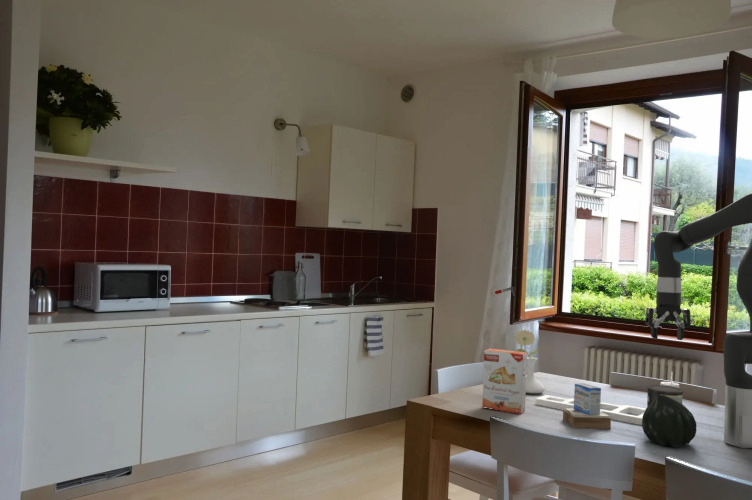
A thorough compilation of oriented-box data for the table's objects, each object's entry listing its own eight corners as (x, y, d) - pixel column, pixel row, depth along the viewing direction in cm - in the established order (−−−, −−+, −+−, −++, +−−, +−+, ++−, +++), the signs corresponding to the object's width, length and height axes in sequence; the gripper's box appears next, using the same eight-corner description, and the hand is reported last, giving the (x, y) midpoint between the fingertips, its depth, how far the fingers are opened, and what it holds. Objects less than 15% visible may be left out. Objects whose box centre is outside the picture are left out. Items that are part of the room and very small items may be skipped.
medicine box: (573, 409, 208) (573, 383, 208) (583, 408, 209) (584, 382, 210) (589, 415, 200) (590, 388, 201) (600, 414, 202) (601, 387, 202)
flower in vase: (548, 392, 254) (550, 330, 254) (539, 397, 244) (541, 332, 244) (517, 387, 261) (519, 327, 261) (507, 392, 251) (509, 329, 251)
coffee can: (641, 432, 197) (643, 387, 197) (651, 426, 205) (652, 383, 205) (677, 439, 190) (678, 393, 190) (685, 433, 198) (686, 388, 198)
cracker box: (481, 408, 221) (483, 349, 221) (486, 405, 227) (488, 347, 227) (521, 414, 215) (522, 353, 215) (525, 411, 220) (527, 351, 220)
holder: (535, 405, 231) (535, 398, 231) (556, 398, 245) (556, 391, 245) (664, 430, 202) (664, 422, 202) (679, 421, 216) (679, 413, 216)
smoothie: (680, 412, 226) (682, 373, 226) (661, 411, 227) (663, 372, 227) (676, 408, 232) (677, 370, 232) (657, 407, 234) (658, 369, 234)
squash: (716, 431, 181) (684, 385, 189) (684, 439, 173) (652, 391, 182) (682, 453, 190) (653, 408, 199) (650, 461, 183) (621, 415, 191)
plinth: (610, 428, 200) (610, 416, 200) (573, 428, 200) (574, 415, 200) (598, 420, 210) (598, 408, 210) (562, 419, 210) (563, 407, 210)
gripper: (653, 290, 206) (652, 340, 205) (695, 292, 206) (694, 341, 206) (642, 289, 213) (641, 337, 213) (683, 291, 214) (682, 338, 214)
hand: (667, 339), depth 209 cm, fingers open, 8 cm apart
